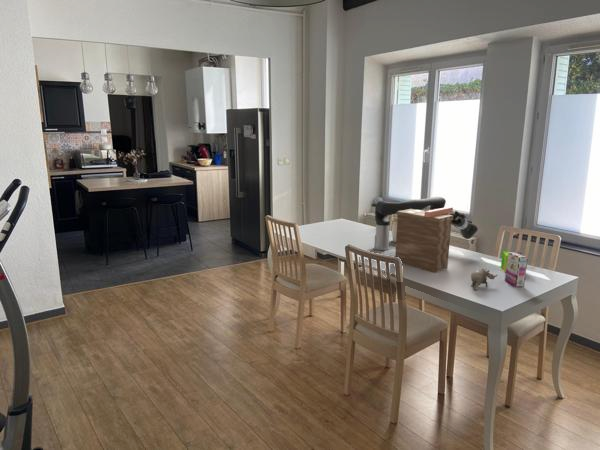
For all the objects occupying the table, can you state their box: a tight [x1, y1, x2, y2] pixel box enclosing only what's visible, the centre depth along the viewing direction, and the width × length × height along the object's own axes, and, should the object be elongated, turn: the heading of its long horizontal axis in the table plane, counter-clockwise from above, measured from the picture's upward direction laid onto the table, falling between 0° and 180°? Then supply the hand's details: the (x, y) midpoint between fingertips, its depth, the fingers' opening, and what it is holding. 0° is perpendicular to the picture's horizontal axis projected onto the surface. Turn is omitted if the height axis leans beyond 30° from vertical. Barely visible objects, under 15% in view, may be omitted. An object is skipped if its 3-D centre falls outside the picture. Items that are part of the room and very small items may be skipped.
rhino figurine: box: [470, 268, 498, 292], centre depth 231 cm, size 8×14×15 cm
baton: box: [424, 206, 454, 217], centre depth 260 cm, size 26×3×3 cm, turn 132°
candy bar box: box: [504, 251, 529, 288], centre depth 235 cm, size 11×5×16 cm, turn 5°
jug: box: [390, 216, 398, 244], centre depth 324 cm, size 15×16×25 cm
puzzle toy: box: [500, 251, 525, 273], centre depth 260 cm, size 10×10×10 cm
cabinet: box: [394, 209, 453, 273], centre depth 266 cm, size 15×29×32 cm, turn 42°
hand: (449, 211), depth 268 cm, fingers open, 8 cm apart
